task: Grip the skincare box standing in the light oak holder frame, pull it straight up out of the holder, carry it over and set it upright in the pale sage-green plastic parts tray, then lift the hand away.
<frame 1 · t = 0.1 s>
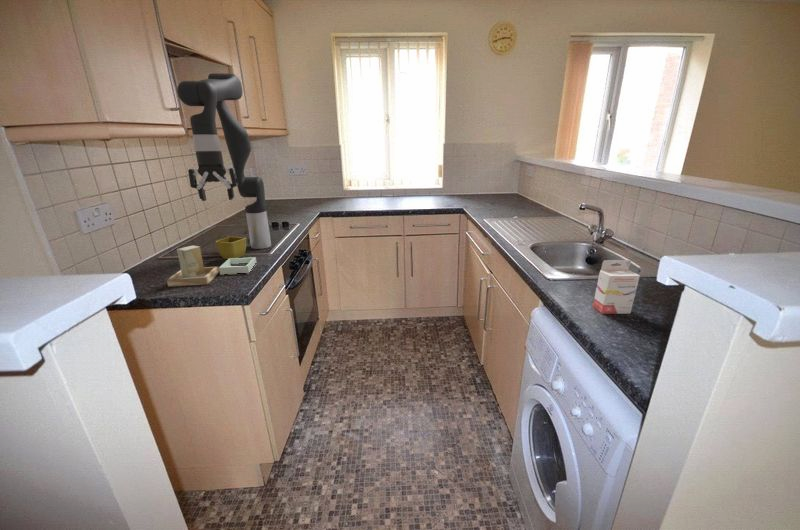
hand: (217, 200, 116), 29 cm above the countertop, tool pointing down, fingers open, 8 cm apart
oak holder: (195, 279, 126), on the countertop
skincare box: (195, 279, 127), resting in oak holder
parts tray: (239, 269, 137), on the countertop
flower pot: (234, 259, 149), on the countertop
ink cartridge box: (611, 311, 99), on the countertop
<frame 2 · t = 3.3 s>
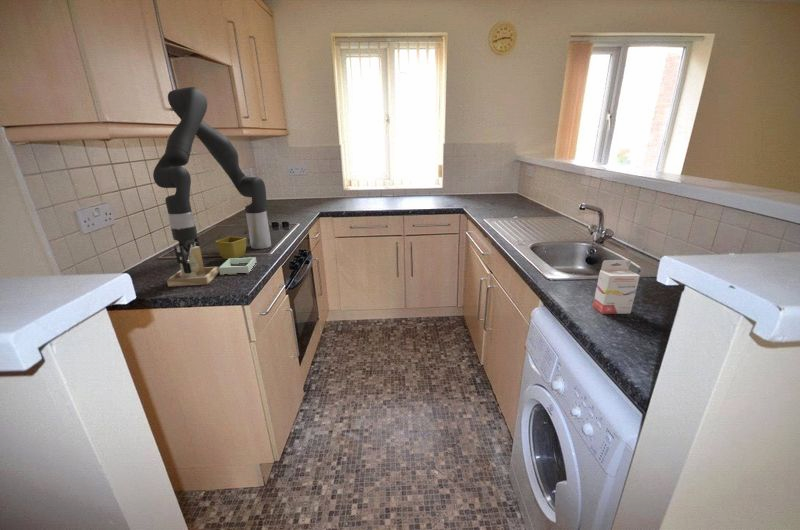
hand: (192, 269, 125), 4 cm above the countertop, tool pointing down, fingers closed on skincare box, 7 cm apart
skincare box: (195, 279, 127), resting in oak holder, touching gripper
everything else where it was.
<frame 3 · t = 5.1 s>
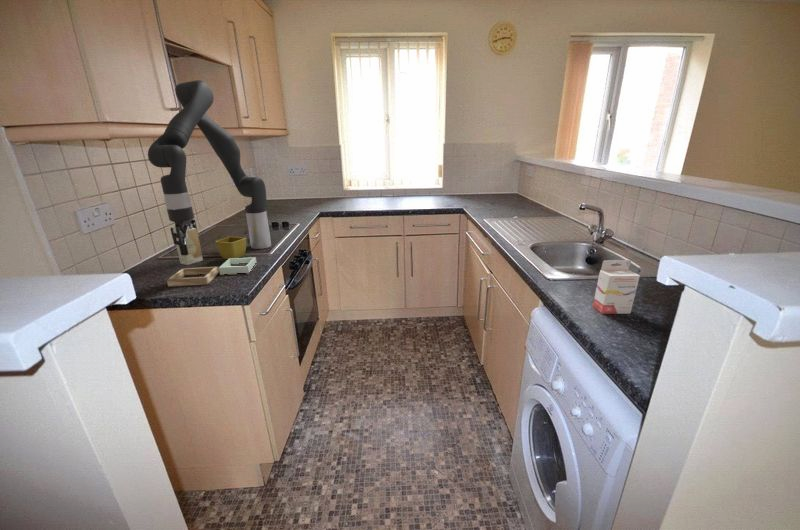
hand: (189, 251, 123), 11 cm above the countertop, tool pointing down, fingers closed on skincare box, 7 cm apart
skincare box: (192, 262, 125), point 6 cm above the countertop, touching gripper
everything else where it was.
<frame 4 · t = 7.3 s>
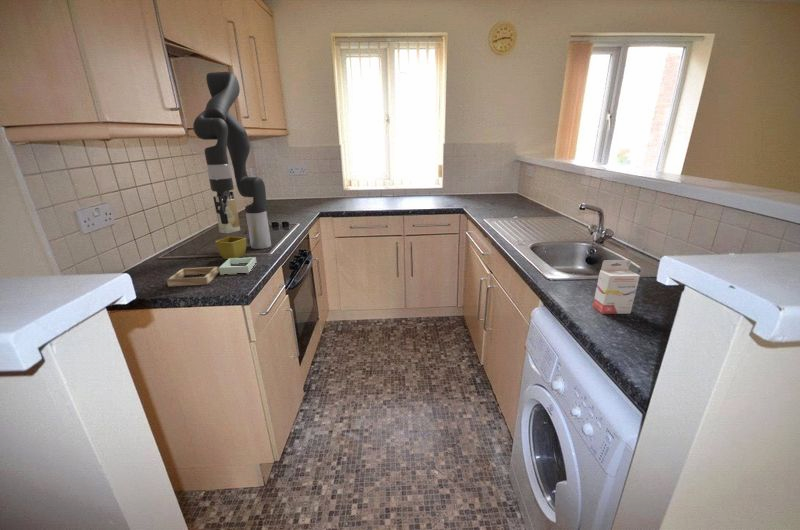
hand: (228, 221, 130), 19 cm above the countertop, tool pointing down, fingers closed on skincare box, 7 cm apart
skincare box: (230, 231, 132), point 15 cm above the countertop, touching gripper
everything else where it was.
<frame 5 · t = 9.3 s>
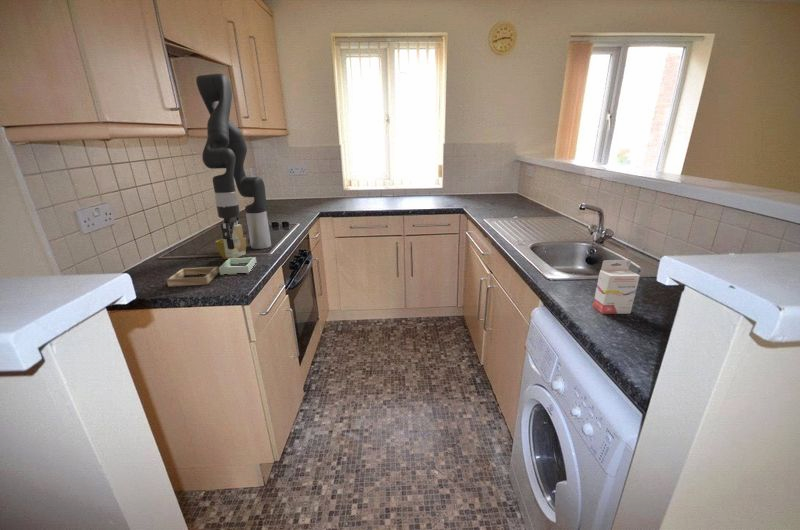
hand: (234, 246, 133), 10 cm above the countertop, tool pointing down, fingers closed on skincare box, 7 cm apart
skincare box: (236, 256, 135), point 5 cm above the countertop, touching gripper
everything else where it was.
when the fingers open (6 cm above the countertop, at t = 11.1 s): skincare box drops 1 cm, resting on parts tray.
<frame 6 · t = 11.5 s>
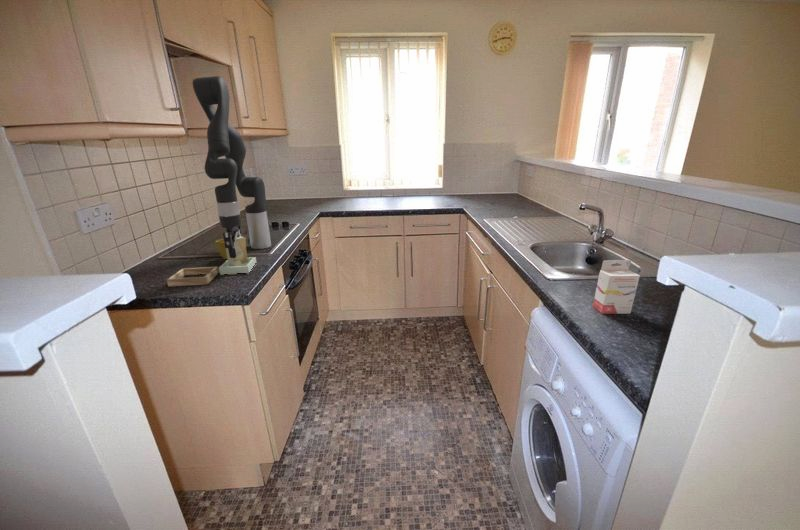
hand: (236, 254, 135), 6 cm above the countertop, tool pointing down, fingers open, 8 cm apart
skincare box: (239, 267, 137), resting on parts tray, touching gripper
everything else where it was.
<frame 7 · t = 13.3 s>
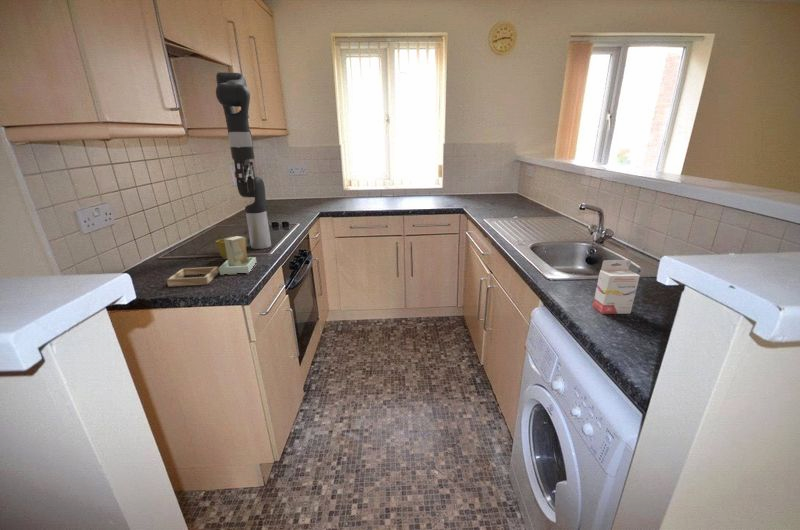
hand: (248, 191, 128), 30 cm above the countertop, tool pointing down, fingers open, 8 cm apart
skincare box: (239, 267, 137), resting on parts tray
everything else where it was.
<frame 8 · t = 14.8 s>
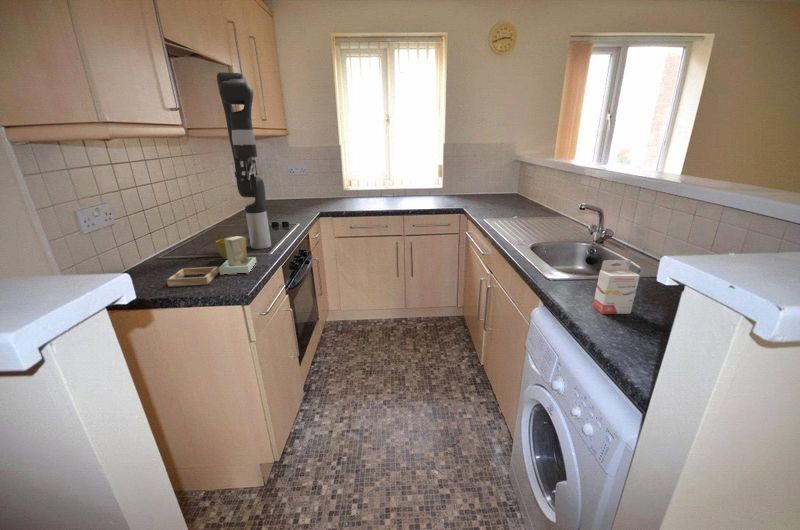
hand: (251, 189, 129), 31 cm above the countertop, tool pointing down, fingers open, 8 cm apart
nothing on the countertop moved.
at the end: skincare box 0.4 cm off-centre on the parts tray, point 0.4 cm above the parts tray's base; skincare box tilted 0°; the gripper is holding nothing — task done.
